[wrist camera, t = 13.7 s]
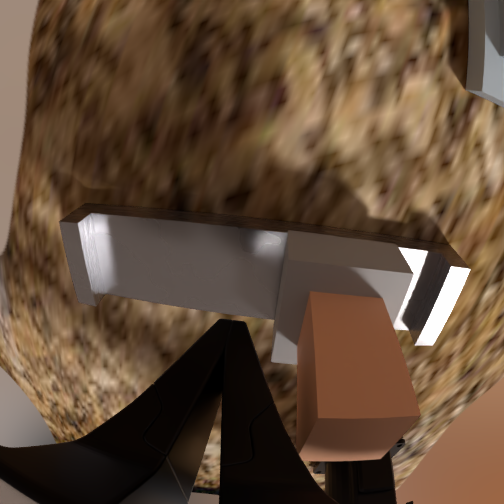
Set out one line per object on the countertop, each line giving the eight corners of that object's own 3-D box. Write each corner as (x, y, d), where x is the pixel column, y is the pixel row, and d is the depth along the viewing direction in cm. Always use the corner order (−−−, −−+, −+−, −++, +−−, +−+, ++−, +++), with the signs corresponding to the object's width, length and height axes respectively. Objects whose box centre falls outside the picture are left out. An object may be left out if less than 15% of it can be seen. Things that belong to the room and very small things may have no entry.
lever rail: (420, 317, 13) (432, 345, 12) (98, 278, 14) (78, 302, 12) (449, 244, 11) (470, 269, 10) (85, 203, 12) (59, 221, 10)
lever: (364, 334, 12) (390, 469, 7) (273, 326, 13) (260, 470, 7) (396, 244, 10) (470, 385, 5) (288, 230, 11) (286, 386, 5)
